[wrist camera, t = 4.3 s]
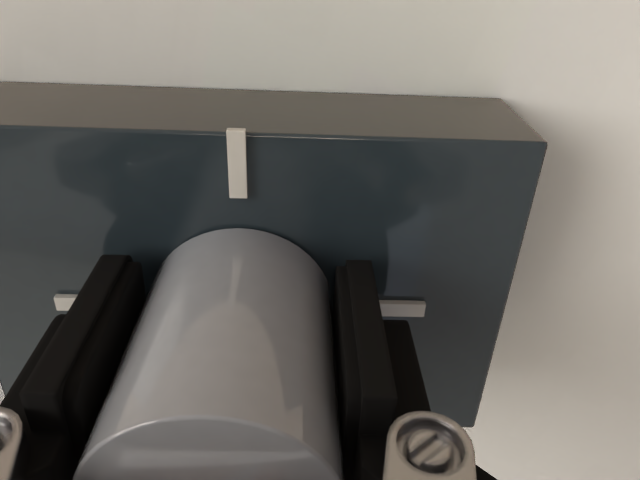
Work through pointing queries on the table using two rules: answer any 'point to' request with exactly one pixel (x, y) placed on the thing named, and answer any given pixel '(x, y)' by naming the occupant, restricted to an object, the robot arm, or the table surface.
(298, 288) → the tap knob
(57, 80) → the table surface
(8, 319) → the panel
